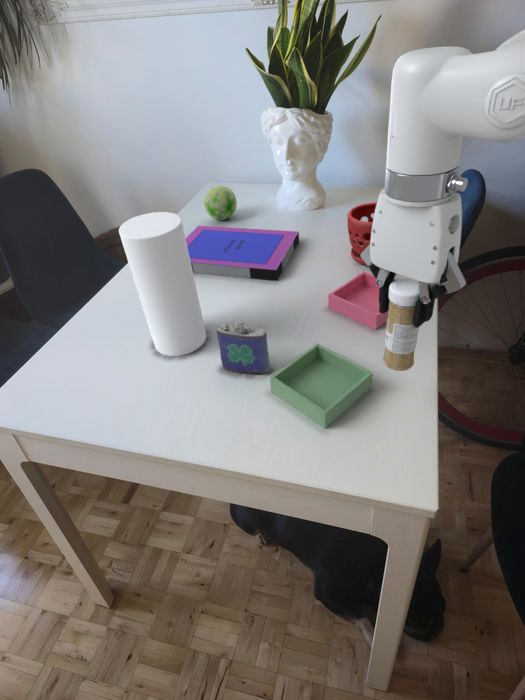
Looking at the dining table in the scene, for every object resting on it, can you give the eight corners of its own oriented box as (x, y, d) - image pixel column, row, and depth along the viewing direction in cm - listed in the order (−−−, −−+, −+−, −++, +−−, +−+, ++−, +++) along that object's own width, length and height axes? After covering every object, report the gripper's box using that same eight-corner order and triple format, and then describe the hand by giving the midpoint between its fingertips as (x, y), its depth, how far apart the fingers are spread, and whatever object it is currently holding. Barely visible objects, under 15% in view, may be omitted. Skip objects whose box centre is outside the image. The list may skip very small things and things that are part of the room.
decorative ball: (229, 226, 131) (224, 193, 125) (201, 223, 135) (195, 191, 129) (244, 213, 138) (240, 181, 131) (217, 210, 142) (212, 179, 135)
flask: (271, 366, 81) (266, 319, 74) (267, 377, 79) (262, 330, 72) (225, 360, 83) (216, 315, 77) (220, 371, 81) (210, 325, 74)
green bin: (371, 387, 75) (373, 372, 72) (325, 428, 69) (325, 413, 66) (317, 357, 82) (317, 342, 80) (271, 391, 76) (269, 377, 74)
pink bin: (409, 303, 93) (412, 289, 90) (375, 330, 87) (377, 315, 84) (362, 284, 100) (363, 271, 98) (328, 308, 94) (328, 294, 92)
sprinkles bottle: (384, 351, 68) (391, 275, 60) (415, 354, 67) (426, 277, 58) (380, 370, 65) (387, 292, 56) (413, 374, 63) (424, 295, 55)
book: (198, 225, 126) (298, 231, 118) (200, 235, 128) (299, 241, 119) (164, 260, 111) (276, 270, 103) (166, 270, 113) (276, 281, 104)
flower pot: (395, 244, 113) (401, 199, 106) (403, 269, 103) (409, 221, 96) (344, 246, 115) (346, 201, 108) (347, 271, 105) (349, 224, 98)
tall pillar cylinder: (216, 330, 91) (193, 215, 75) (186, 361, 84) (154, 242, 68) (175, 319, 96) (146, 208, 80) (143, 348, 89) (105, 233, 73)
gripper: (512, 184, 45) (477, 325, 57) (375, 162, 56) (369, 285, 67) (477, 208, 42) (447, 353, 53) (338, 179, 52) (338, 306, 64)
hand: (403, 314), depth 60 cm, fingers closed on sprinkles bottle, 4 cm apart
